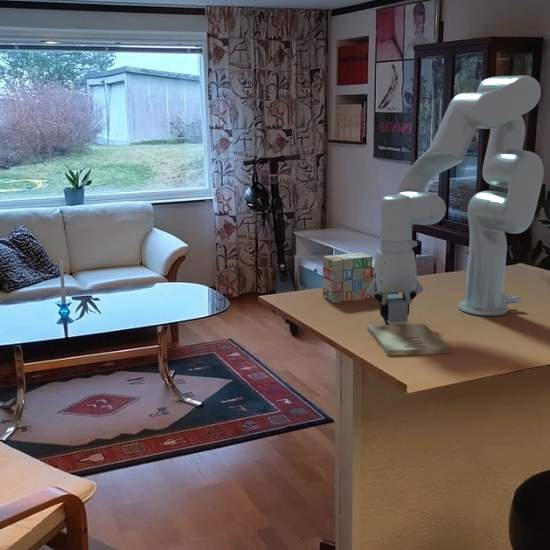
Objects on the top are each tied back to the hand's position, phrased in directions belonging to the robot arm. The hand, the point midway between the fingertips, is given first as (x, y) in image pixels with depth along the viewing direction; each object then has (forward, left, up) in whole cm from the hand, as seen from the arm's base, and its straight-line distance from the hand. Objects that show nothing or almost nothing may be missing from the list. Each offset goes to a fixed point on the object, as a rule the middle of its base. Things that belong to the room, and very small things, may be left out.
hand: (394, 317), depth 176 cm
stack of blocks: (+2, -26, -2) cm, 26 cm away
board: (+1, +13, -2) cm, 13 cm away
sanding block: (0, 0, -1) cm, 1 cm away
